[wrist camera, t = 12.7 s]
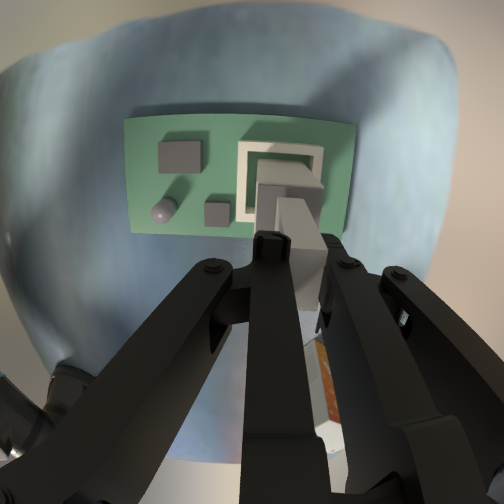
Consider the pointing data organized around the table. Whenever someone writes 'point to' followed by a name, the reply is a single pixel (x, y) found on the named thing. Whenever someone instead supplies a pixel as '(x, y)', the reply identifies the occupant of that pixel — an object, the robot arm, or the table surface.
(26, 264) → the table surface
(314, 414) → the small box
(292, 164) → the plug
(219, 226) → the board
